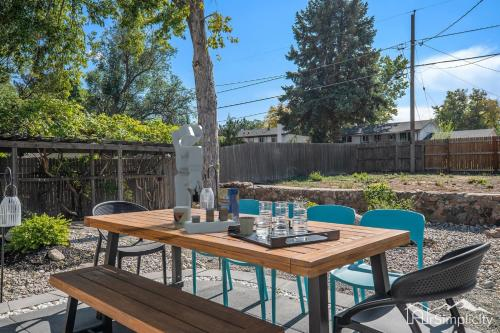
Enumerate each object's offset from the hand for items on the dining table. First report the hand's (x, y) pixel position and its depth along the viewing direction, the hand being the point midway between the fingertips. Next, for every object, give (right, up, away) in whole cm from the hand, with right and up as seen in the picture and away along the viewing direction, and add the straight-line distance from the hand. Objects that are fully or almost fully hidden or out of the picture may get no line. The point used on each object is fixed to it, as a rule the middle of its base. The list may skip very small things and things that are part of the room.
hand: (195, 201), depth 212 cm
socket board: (+8, -16, +2) cm, 18 cm away
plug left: (0, -16, -1) cm, 16 cm away
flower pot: (+28, -16, -11) cm, 34 cm away
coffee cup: (-11, -17, +15) cm, 25 cm away
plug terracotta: (+15, -12, +5) cm, 20 cm away
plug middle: (+8, -12, +2) cm, 14 cm away
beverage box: (+17, -17, +28) cm, 36 cm away
